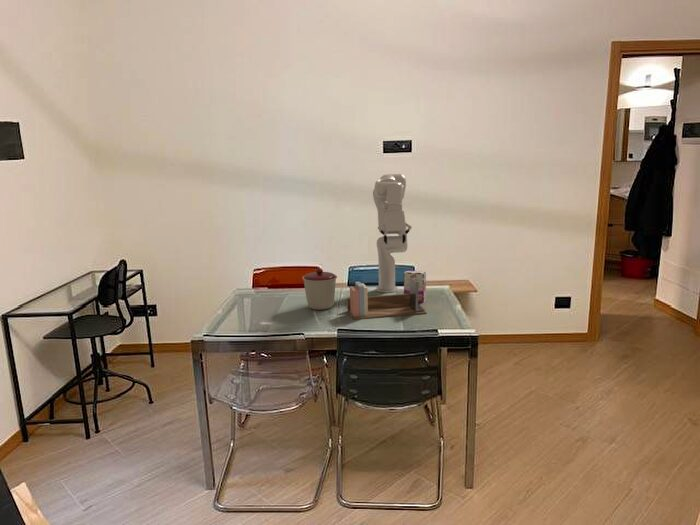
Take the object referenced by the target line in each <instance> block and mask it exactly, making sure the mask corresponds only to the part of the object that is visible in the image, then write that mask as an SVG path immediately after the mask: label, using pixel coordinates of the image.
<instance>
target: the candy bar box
mask: <svg viewBox="0 0 700 525" xmlns="http://www.w3.org/2000/svg"><path fill="white" fill-rule="evenodd" d="M410 278H413V279H414V280H416V281H417V282H418V303H420V304H421V303H422V304H424V303H425V302H426V301H427V272H426V271H419V270H418V271H417V270H406V271H403V294H410Z"/></svg>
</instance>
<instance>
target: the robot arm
mask: <svg viewBox="0 0 700 525" xmlns="http://www.w3.org/2000/svg"><path fill="white" fill-rule="evenodd" d="M406 186H407V181H406V177H405V175H404V174H401V173H397V174H396V173H393V174H391V173H390V174H389V173H388V174H383V175H381V177H380V178H379V179H377V180H376V181H375V182H374V188H373V190H372V198H373V202H374V204H375V207H376V209H377V210H376V211H377V220H378V221H377V224H378V226H377V229H378V231H379V233H380V234H382V235H383V236H381V237H378V239H377V240H376V249H377V256H378V257H377V258H378V286H377V287H376V288H375V290H376V291H377V292H378V293H385V294H387V293H394V292H397V291H398V290H399V288H398V286H396V260H395V258H394V257H393V256H392V254H394V253H395V254H396V253H397V254H398V253H399V254H400V253H405V252H406V251H407V250H408V233H410V231H411V229H412V228H413V226H412V225H410V224H408V223H407V222H406V217H405V211H404V210H403V199H404V197H405V192H406ZM392 235H393V236H392Z"/></svg>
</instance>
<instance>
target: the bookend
mask: <svg viewBox="0 0 700 525" xmlns="http://www.w3.org/2000/svg"><path fill="white" fill-rule="evenodd" d="M410 307H411V308H412V309H413V310H415V311H416V312H417V311H426V310H425V308H423V307H422V306H421V305H420V304H419V302H418V282H417V281H416V280H414V279H413V278H410Z"/></svg>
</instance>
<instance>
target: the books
mask: <svg viewBox="0 0 700 525" xmlns="http://www.w3.org/2000/svg"><path fill="white" fill-rule="evenodd" d="M354 284H355V285H353V286H349V298H350V309H351V313H352V314H353V316H354V317H357V316H368V297H369V296H368V293H369V292H368V287H367V285H366V284H365V283H363V282H362V283H361V282H360V281H355V282H354Z"/></svg>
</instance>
